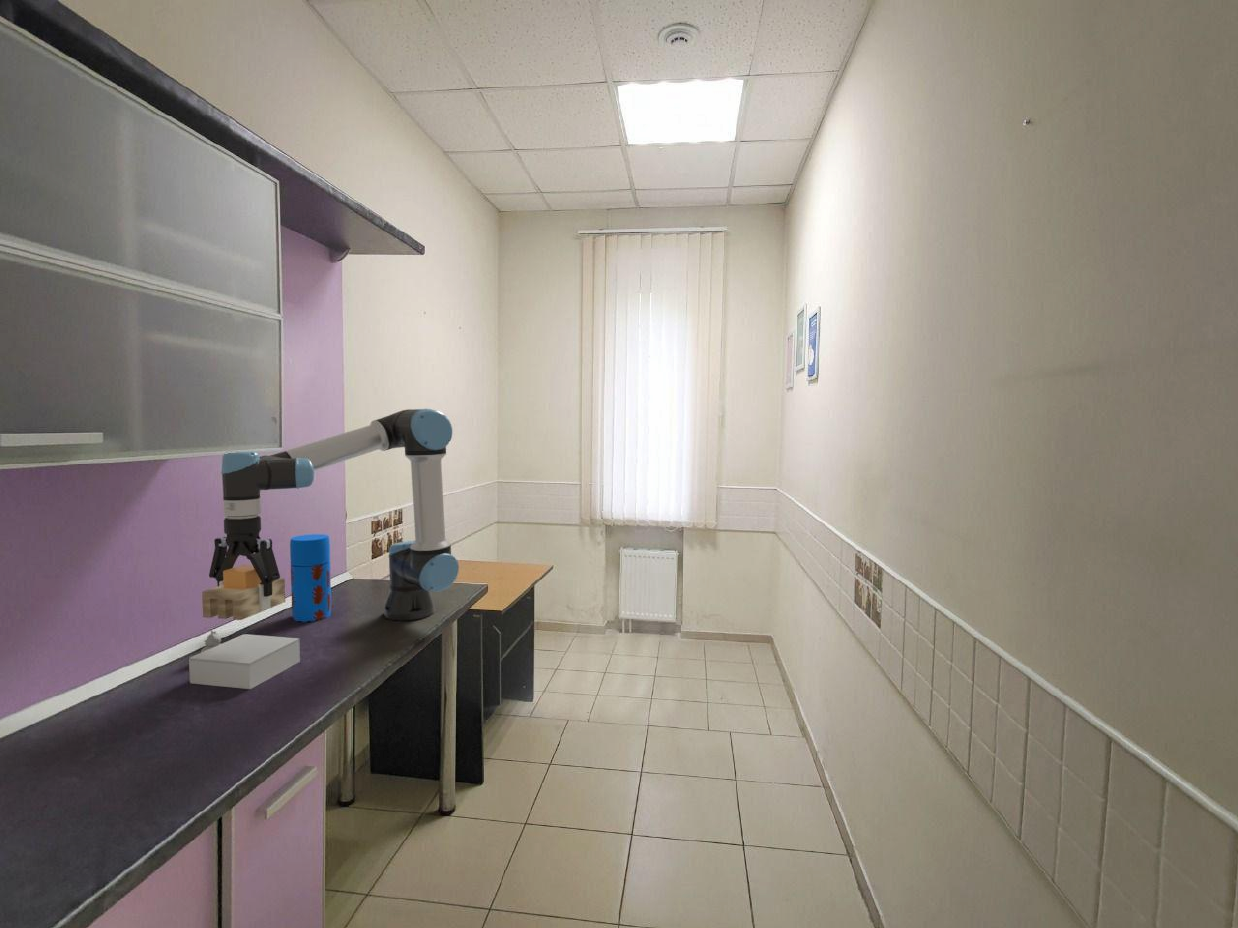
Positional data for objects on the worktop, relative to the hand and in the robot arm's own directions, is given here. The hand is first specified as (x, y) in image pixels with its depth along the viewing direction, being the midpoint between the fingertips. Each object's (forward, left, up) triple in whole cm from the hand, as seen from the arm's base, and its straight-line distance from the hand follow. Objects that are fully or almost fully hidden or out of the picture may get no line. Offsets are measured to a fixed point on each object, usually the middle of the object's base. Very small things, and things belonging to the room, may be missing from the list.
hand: (245, 607), depth 143 cm
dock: (0, 0, -16) cm, 16 cm away
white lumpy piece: (-5, -14, -16) cm, 22 cm away
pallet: (0, 0, 0) cm, 0 cm away
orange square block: (0, 0, +6) cm, 6 cm away
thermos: (-40, -13, -16) cm, 45 cm away
